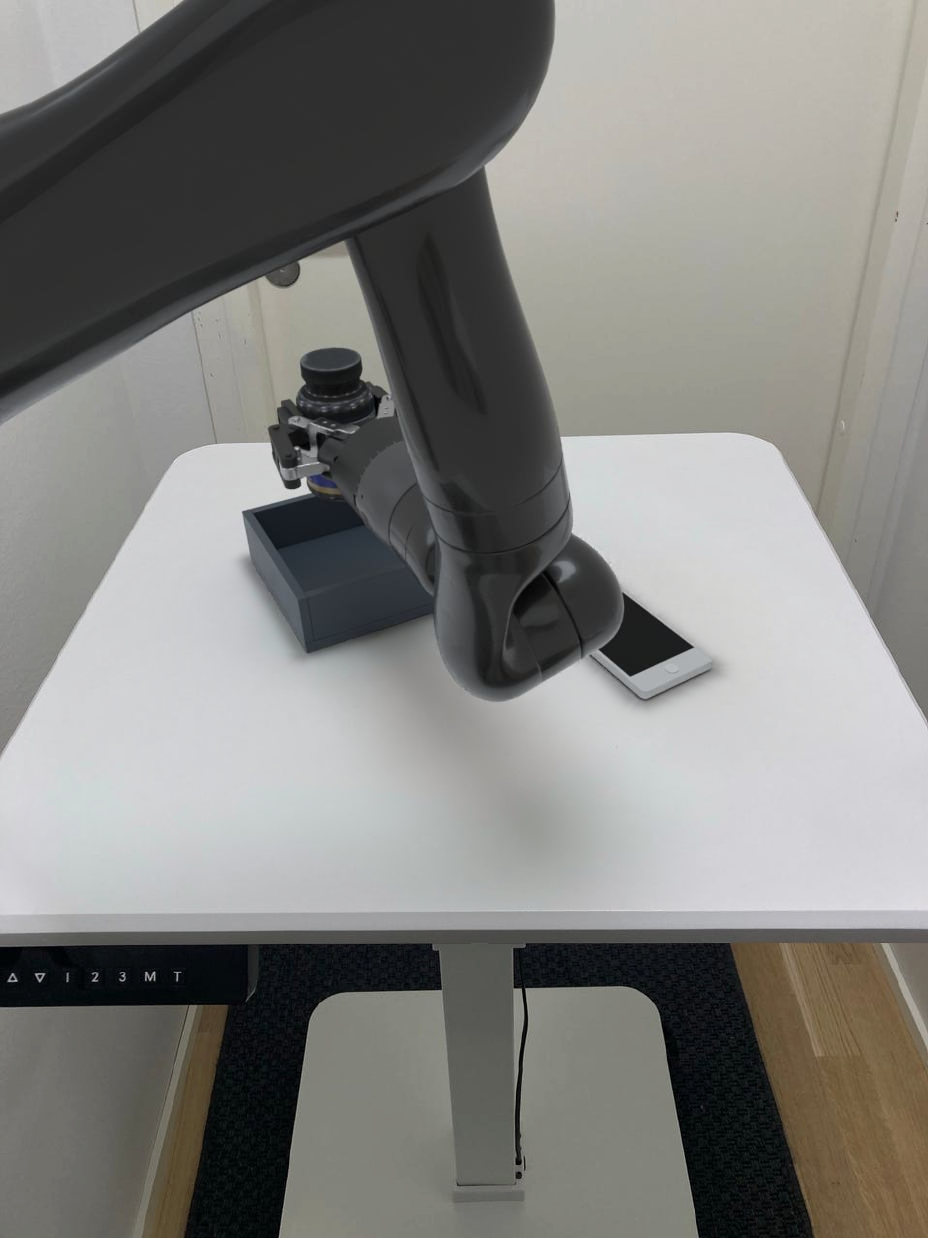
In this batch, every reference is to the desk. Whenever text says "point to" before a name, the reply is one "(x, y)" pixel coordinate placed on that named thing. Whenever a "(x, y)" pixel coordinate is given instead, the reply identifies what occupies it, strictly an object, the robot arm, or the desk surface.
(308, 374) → the pill bottle
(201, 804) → the desk surface
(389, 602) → the open box
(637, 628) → the smartphone
